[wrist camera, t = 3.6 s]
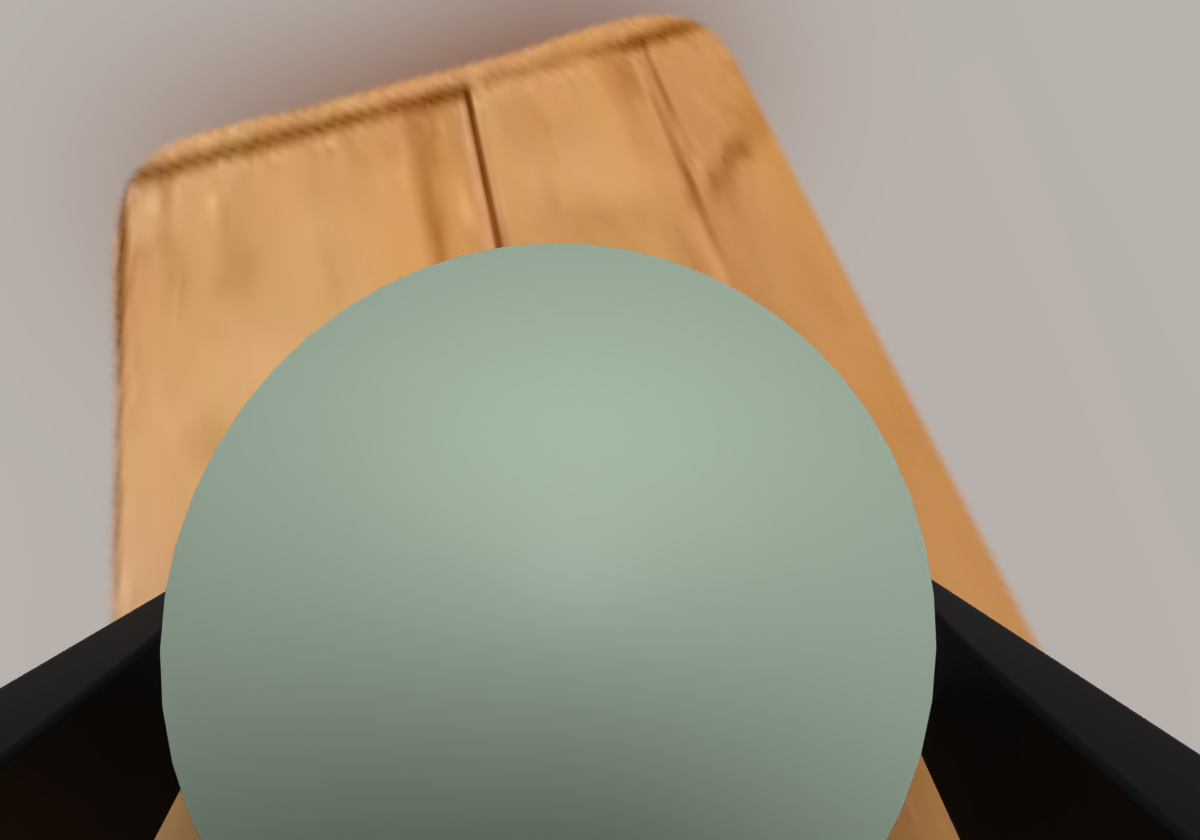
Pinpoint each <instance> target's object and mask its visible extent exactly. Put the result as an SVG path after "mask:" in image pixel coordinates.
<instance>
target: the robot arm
mask: <svg viewBox="0 0 1200 840" xmlns="http://www.w3.org/2000/svg"><path fill="white" fill-rule="evenodd" d="M931 581H932V587H933V593H934V609H935V631H936V657H935V670H934V682H933V695H932V704H931V709H930V713H929V718H928V723H927V728H926V733H925V737H924V742H923V747H922V752H921V754H922V757H923V759H924V761H925V764H926V766H927V768H928V770H929V773H930V775H931V777H932V779H933V781H934V784H935V786H936V788H937V790H938V792H939V795H940V797H941V799H942V801H943V803H944V806H945V808H946V810H947V812H948V814H949V817H950V819H951V821H952V823H953V825H954V828H955V830H956V832H957V834H958V836H959V839H960V840H1200V754H1198V753H1197V752H1195V751H1194V750H1192V749H1191V748H1189V747H1188V746H1186V745H1184V744H1183V743H1181V742H1180V741H1178V740H1177V739H1175V738H1174V737H1172V736H1170V735H1169V734H1168V733H1166V732H1165V731H1163V730H1161V729H1160V728H1158V727H1157V726H1155V725H1154V724H1152V723H1151V722H1149V721H1148V720H1146V719H1145V718H1143V717H1142V716H1140V715H1139V714H1137V713H1135V712H1134V711H1132V710H1131V709H1129V708H1128V707H1126V706H1125V705H1123V704H1122V703H1120V702H1118V701H1117V700H1116V699H1114V698H1112V697H1111V696H1109V695H1108V694H1106V693H1105V692H1103V691H1102V690H1100V689H1099V688H1097V687H1096V686H1094V685H1093V684H1091V683H1089V682H1088V681H1086V680H1085V679H1083V678H1082V677H1080V676H1079V675H1077V674H1076V673H1074V672H1073V671H1071V670H1070V669H1068V668H1067V667H1065V666H1063V665H1062V664H1060V663H1059V662H1057V661H1056V660H1054V659H1053V658H1051V657H1050V656H1048V655H1047V654H1045V653H1044V652H1042V651H1040V650H1039V649H1037V648H1036V647H1034V646H1033V645H1031V644H1030V643H1028V642H1027V641H1025V640H1024V639H1022V638H1021V637H1019V636H1018V635H1016V634H1014V633H1013V632H1011V631H1010V630H1008V629H1007V628H1005V627H1004V626H1002V625H1001V624H999V623H998V622H996V621H995V620H993V619H991V618H990V617H988V616H987V615H985V614H984V613H982V612H981V611H979V610H978V609H976V608H975V607H973V606H972V605H970V604H968V603H967V602H965V601H964V600H962V599H961V598H959V597H958V596H956V595H955V594H953V593H952V592H950V591H949V590H947V589H946V588H944V587H942V586H941V585H939V584H938V583H936V582H935V581H933V580H932V579H931ZM165 593H166V591H165V592H164V593H162V594H160V595H159V596H157V597H155V598H154V599H152V600H150V601H148V602H147V603H145V604H143V605H142V606H140V607H138V608H136V609H135V610H133V611H131V612H130V613H128V614H126V615H124V616H123V617H121V618H119V619H118V620H116V621H114V622H113V623H111V624H109V625H107V626H106V627H104V628H102V629H101V630H99V631H97V632H95V633H94V634H92V635H90V636H89V637H87V638H85V639H84V640H82V641H80V642H78V643H77V644H75V645H73V646H72V647H70V648H68V649H66V650H65V651H63V652H62V653H60V654H58V655H56V656H54V657H53V658H51V659H49V660H48V661H46V662H44V663H43V664H41V665H39V666H38V667H36V668H34V669H32V670H31V671H29V672H27V673H25V674H24V675H22V676H20V677H19V678H17V679H16V680H14V681H12V682H10V683H8V684H7V685H5V686H3V687H2V688H0V840H154V839H155V837H156V835H157V833H158V831H159V829H160V828H161V826H162V824H163V822H164V820H165V818H166V816H167V814H168V812H169V810H170V808H171V806H172V804H173V803H174V801H175V799H176V797H177V795H178V793H179V791H180V789H181V788H180V785H179V782H178V779H177V776H176V773H175V770H174V767H173V764H172V758H171V753H170V747H169V741H168V736H167V730H166V724H165V719H164V713H163V707H162V685H161V661H160V645H161V634H162V623H163V612H164V601H165Z"/></svg>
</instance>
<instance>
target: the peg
mask: <svg viewBox="0 0 1200 840" xmlns="http://www.w3.org/2000/svg"><path fill="white" fill-rule="evenodd" d="M935 657H936V631H935V609H934V593H933V587H932V581H931V575H930V569H929V563H928V558H927V552H926V546H925V542H924V539H923V535H922V532H921V528H920V525H919V522H918V518H917V515H916V512H915V508H914V505H913V501H912V498H911V496H910V493H909V491H908V489H907V486H906V484H905V482H904V479H903V477H902V475H901V472H900V470H899V468H898V465H897V463H896V461H895V458H894V456H893V454H892V452H891V450H890V449H889V447H888V445H887V443H886V442H885V440H884V438H883V436H882V435H881V433H880V431H879V429H878V428H877V426H876V424H875V423H874V421H873V419H872V417H871V416H870V414H869V412H868V411H867V410H866V408H865V407H864V406H863V404H862V403H861V402H860V400H859V399H858V398H857V396H856V395H855V394H854V392H853V391H852V390H851V388H850V387H849V386H848V384H847V383H846V382H845V380H844V379H843V377H842V376H841V375H840V374H839V373H838V372H837V371H836V370H835V369H834V368H833V367H832V366H831V365H830V364H829V363H828V361H827V360H826V359H825V358H824V357H823V356H822V355H821V354H820V353H819V352H818V351H817V350H816V349H815V348H814V347H813V346H812V345H811V344H810V343H809V342H808V341H807V340H806V339H804V338H803V337H802V336H801V335H800V334H798V333H797V332H796V331H795V330H794V329H792V328H791V327H790V326H789V325H788V324H787V323H785V322H784V321H783V320H782V319H781V318H779V317H778V316H777V315H775V314H774V313H772V312H771V311H769V310H768V309H766V308H765V307H763V306H762V305H760V304H759V303H757V302H756V301H754V300H753V299H751V298H750V297H748V296H746V295H745V294H743V293H742V292H740V291H738V290H736V289H734V288H732V287H730V286H728V285H726V284H724V283H722V282H720V281H718V280H716V279H714V278H712V277H710V276H708V275H706V274H704V273H701V272H698V271H696V270H693V269H691V268H688V267H685V266H683V265H680V264H677V263H675V262H672V261H669V260H666V259H662V258H658V257H654V256H650V255H646V254H642V253H638V252H634V251H630V250H626V249H618V248H611V247H603V246H596V245H589V244H553V243H543V244H532V245H521V246H510V247H501V248H497V249H492V250H487V251H482V252H477V253H472V254H468V255H463V256H459V257H456V258H453V259H450V260H447V261H444V262H441V263H438V264H435V265H432V266H429V267H426V268H423V269H420V270H418V271H416V272H413V273H411V274H409V275H407V276H405V277H402V278H400V279H398V280H396V281H394V282H391V283H389V284H387V285H385V286H383V287H381V288H379V289H377V290H376V291H374V292H372V293H371V294H369V295H367V296H366V297H364V298H362V299H361V300H359V301H357V302H356V303H354V304H352V305H351V306H349V307H347V308H346V309H344V310H343V311H341V312H340V313H339V314H337V315H336V316H335V317H333V318H332V319H331V320H330V321H328V322H327V323H326V324H324V325H323V326H322V327H320V328H319V329H318V330H316V331H315V332H314V333H312V334H311V335H310V336H309V337H307V338H306V339H305V340H304V341H303V342H302V343H301V344H300V345H299V346H298V347H297V348H296V349H295V350H294V351H293V352H292V353H291V354H290V355H289V356H287V357H286V358H285V359H284V360H283V361H282V362H281V363H280V364H279V365H278V366H277V367H276V368H275V369H274V370H273V371H272V372H271V374H270V375H269V376H268V377H267V378H266V380H265V381H264V382H263V383H262V384H261V386H260V387H259V388H258V389H257V391H256V392H255V393H254V394H253V395H252V397H251V398H250V399H249V400H248V401H247V403H246V404H245V405H244V406H243V408H242V409H241V411H240V412H239V414H238V415H237V417H236V418H235V420H234V422H233V423H232V425H231V426H230V428H229V429H228V431H227V432H226V434H225V435H224V437H223V438H222V440H221V442H220V443H219V445H218V446H217V448H216V450H215V452H214V454H213V456H212V458H211V460H210V462H209V464H208V466H207V468H206V470H205V472H204V474H203V476H202V478H201V480H200V482H199V484H198V486H197V488H196V490H195V492H194V495H193V497H192V500H191V503H190V506H189V509H188V512H187V514H186V517H185V520H184V523H183V526H182V529H181V531H180V534H179V537H178V540H177V543H176V547H175V552H174V557H173V561H172V566H171V570H170V575H169V579H168V584H167V588H166V593H165V601H164V612H163V623H162V634H161V645H160V661H161V685H162V707H163V713H164V719H165V724H166V730H167V736H168V741H169V747H170V753H171V758H172V764H173V767H174V770H175V773H176V776H177V779H178V782H179V785H180V788H181V791H182V794H183V797H184V800H185V804H186V807H187V810H188V813H189V816H190V819H191V821H192V823H193V825H194V827H195V829H196V831H197V833H198V835H199V837H200V839H201V840H887V838H888V836H889V834H890V832H891V830H892V828H893V826H894V824H895V822H896V820H897V818H898V816H899V814H900V812H901V810H902V808H903V805H904V802H905V799H906V796H907V793H908V791H909V788H910V785H911V782H912V779H913V776H914V773H915V771H916V768H917V765H918V762H919V759H920V756H921V752H922V747H923V742H924V737H925V733H926V728H927V723H928V718H929V713H930V709H931V704H932V695H933V682H934V670H935Z"/></svg>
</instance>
